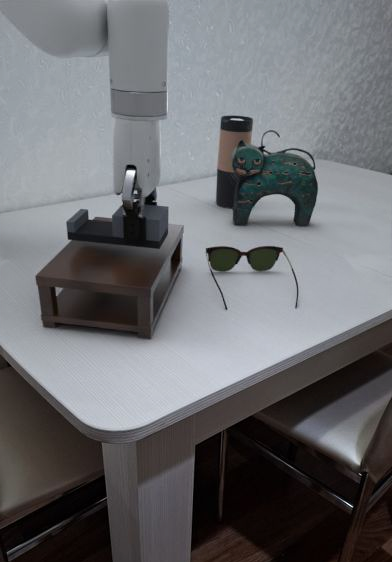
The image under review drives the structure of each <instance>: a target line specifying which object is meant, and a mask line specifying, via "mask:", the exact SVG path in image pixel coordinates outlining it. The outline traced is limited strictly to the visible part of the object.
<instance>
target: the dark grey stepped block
mask: <svg viewBox="0 0 392 562" xmlns="http://www.w3.org/2000/svg"><path fill="white" fill-rule="evenodd" d="M122 205H123V203H122V204H121V205H120V206H119V208H118V209H116V211H114V212H113V214H112V215H111V218H112V222H109V221H99V220H93V219H90V218H89V217H90V215H89V209H86V208H85V209H84V208H80V209H79V210H78V211H77V212H75V213H74V214H73V215H72V216H71V217H70V218H68V219H67V220H66V222H65V224H66V233H67V240H68V241H71V240H76V241H86V242H95V243H105V244H115V245H125V246H135V247H145V248H155V249H160V247H161V246H162V244H163V242H164V240H165V239H166V237H167V235H168V224H169V206H166V205H157V206H156V205H144V216H143V217H146V243H145V244H144V245H141V244H131V243H125V242H124V231H123V207H122ZM138 207H139V204H138Z"/></svg>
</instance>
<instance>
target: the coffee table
mask: <svg viewBox="0 0 392 562" xmlns="http://www.w3.org/2000/svg"><path fill="white" fill-rule="evenodd" d="M92 220H99V221H109V222H112V217H105V216H94V217H93V219H92ZM184 226H185V225H184V224H177V223H176V224H175V223H168V235H167V237H166V239H165V240H164V242H163V244H162V246H161V247H160V249H155V248H145V247H135V246H125V245H115V244H105V243H95V242H86V241H76V240H69V242H68V243H67V244H66V245H65V246H64V247H63V248H62V249H61V250H60V251H59V252H57V254H56V255H55V256H54V257H53V258H52V259H51V260H49V262H48V263H47V264H46V265H44V267H42V269H41V270H40V271H38V273H37V274H36V275H35V284H36V286H37V291H38V299H39V306H40V320H41V322H42V326H43V327H45V328H51V329H52V328H53V329H55V328H56V327H57V326H58V324H66V325H75V326H82V327H83V326H84V327H92V328H100V329H110V330H116V331H124V332H125V331H127V332H134V333H137V338H138V339H144V340H151V339H152V337H153V335H154V327H155V326H156V323H157V320H158V319H159V316H160V314H161V312H162V310H163V307H164V306H165V302H166V301H167V298H168V295H169V294H170V291H171V289H172V286H173V285H174V282H175V280H176V277H177V276H178V274H179V272H181V270H182V266H183V243H184V242H183V241H184V232H185V230H184V229H185V227H184ZM56 288H59V289H61V290H60V292H59V293H58V294H57V289H56Z"/></svg>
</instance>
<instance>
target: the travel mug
mask: <svg viewBox="0 0 392 562" xmlns="http://www.w3.org/2000/svg"><path fill="white" fill-rule="evenodd" d="M253 124H254V119H253V117H249V116H244V115H231V114H229V115H222V116H221V117H220V127H219V139H218V153H217V166H216V167H217V169H216V190H215V191H216V192H215V204H216V205H217V206H218V205H219V207H221V206H223V207H222V208H225V207H231V208H230V209H233V208H232V207H233V205H234V193H235V189H236V184H237V179H238V177H239V176H238V175H237V174H236V173H235V172H234V170H233V167H232V155H233V152H234V150H235V148H236V147H237V146H238V143H239V142H240V141H241V140H243V142H244V143H247V144H252V138H253V137H252V136H253V126H254V125H253Z"/></svg>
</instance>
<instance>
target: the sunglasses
mask: <svg viewBox="0 0 392 562" xmlns="http://www.w3.org/2000/svg"><path fill="white" fill-rule="evenodd" d="M281 253H282V254H283V255H284V257H285V258H286V260H287V262H288V265H289V266H290V269H291V272H292V275H293V278H294V281H295V286H296V299H295V306H294V307H295V309H297V307H298V301H299V284H298V280H297V275H296V272H295V269H294V267H293V265H292V263H291V261H290V259H289V257H288V255H287V252H285V250H284V247H282V246H275V245H263V246H255V247H253V248H251V249H248V251H241V250H240V249H238V248H235V247H232V246H226V245H219V246H218V245H217V246H211V247H206V248H205V255H206V260H207V264H208V265H207V266H208V267H209V271H210V273H211V276H212V279H213V280H214V284H216V286H217V288H218V291H219V293H220V296H221V299H222V301H223V305H224V308H225V310H226V311H227V310H228V306H227V303H226V300H225V297H224V295H223V290H222V289H221V287H220V285H219V282H218V281H217V279H216V277H215V274H214V272H213V271H215V272H229V271H231V270H233V268H234V267H236V266H237V265H239V262H240V260H241V258H242V257H244V256H245V257H246V260H247V264H248V265H249V266H250V268H251V269H252V270H254V271H256V272H267V271H269V270H271V269H272V268H273V267H274V266H275V264H276V262H278V261H279V257H280V254H281Z"/></svg>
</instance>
